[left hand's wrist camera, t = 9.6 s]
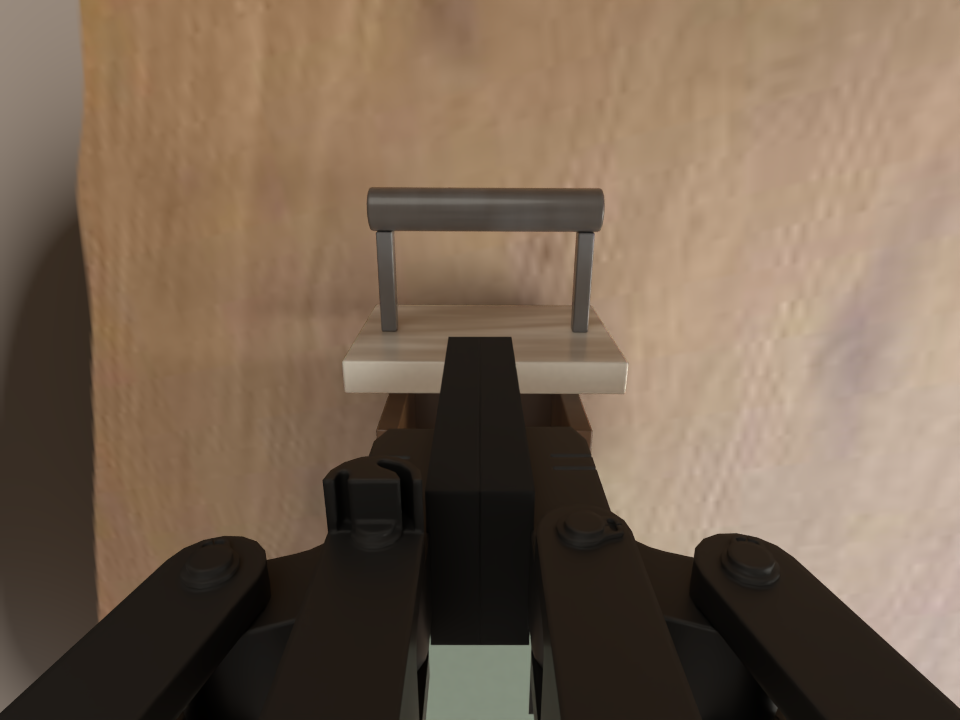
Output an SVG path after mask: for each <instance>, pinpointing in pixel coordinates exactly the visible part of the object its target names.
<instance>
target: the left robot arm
mask: <svg viewBox="0 0 960 720" xmlns="http://www.w3.org/2000/svg"><path fill="white" fill-rule="evenodd" d="M595 468H596V467H595V464H594V461H593V458H592V457H591V452H590V449H589V446H588V443H587V440H586V439H585V438H584V437H583V436H582V435H580V434H579V433H578V432H577V431H576V430H574V429H573V428H572V427H525V422H524V415H523V409H522V402H521V395H520V389H519V382H518V376H517V369H516V363H515V356H514V350H513V343H512V337H448V343H447V350H446V356H445V363H444V369H443V376H442V382H441V389H440V395H439V402H438V409H437V415H436V422H435V428H434V429H388V430H387V431H386V432H384V433H383V434H382V435H381V436H380V437H379V438H377V439H376V440H375V441H374V443H373V446H372V449H371V452H370V455H369V456H368V457H360V458H357V459H354V460H350V461H347V462H344V463H342V464H341V465H339V466H337V467H336V468H334V469H332V470H331V471H330V472H329V473H328V474H327V476H326V477H325V478H324V479H323V489H324V498H325V507H326V517H327V526H328V534H327V537H326V539H325V542H324V544H322V545H320V546H317V547H315V548H313V549H311V550H307V551H304V552H301V553H297V554H293V555H288V556H284V557H279V558H275V559H270V560H266V553H265V550H264V549H263V548H262V547H261V546H260V545H259V543H258V542H257V541H254V540H251V539H248V538H245V537H241V536H222V537H216V538H211V539H207V540H203V541H200V542H198V543H196V544H193V545H191V546H188V547H186V548H184V549H182V550H181V551H179V552H178V553H176V554H175V555H174V556H172V557H171V558H169V559H168V560H167V561H166V562H164V563H163V564H162V565H161V566H160V567H159V568H158V569H157V570H156V571H155V572H154V573H152V574H151V575H150V576H149V577H148V578H147V579H146V580H145V581H144V582H143V583H142V584H140V585H139V586H138V587H137V588H136V589H135V590H134V591H133V592H132V593H131V594H130V595H128V596H127V597H126V598H125V599H124V600H123V601H122V602H121V603H120V604H119V605H118V606H116V607H115V608H114V609H113V610H112V611H111V612H110V613H109V614H108V615H107V616H106V617H104V618H103V619H102V620H101V621H100V622H99V623H98V624H97V625H96V626H95V627H94V628H92V629H91V630H90V631H89V632H88V633H87V634H86V635H85V636H84V637H83V638H82V639H80V640H79V641H78V642H77V643H76V644H75V645H74V646H73V647H72V648H71V649H70V650H69V651H67V652H66V653H65V654H64V655H63V656H62V657H61V658H60V659H59V660H58V661H57V662H55V663H54V664H53V665H52V666H51V667H50V668H49V669H48V670H47V671H46V672H45V673H43V674H42V675H41V676H40V677H39V678H38V679H37V680H36V681H35V682H34V683H33V684H31V685H30V686H29V687H28V688H27V689H26V690H25V691H24V692H23V693H22V694H21V695H20V696H18V697H17V698H16V699H15V700H14V701H13V702H12V703H11V704H10V705H9V706H7V707H6V708H5V709H4V710H3V711H2V712H1V713H0V720H426V713H427V702H428V691H429V680H430V667H429V642H430V639H431V645H529V639H531V667H530V692H529V714H534V720H960V708H959V707H958V706H956V705H955V704H954V703H953V702H952V701H951V700H950V699H949V698H948V697H947V696H945V695H944V694H943V693H942V692H941V691H940V690H939V689H938V688H937V687H936V686H934V685H933V684H932V683H931V682H930V681H929V680H928V679H927V678H926V677H925V676H923V675H922V674H921V673H920V672H919V671H918V670H917V669H916V668H915V667H914V666H912V665H911V664H910V663H909V662H908V661H907V660H906V659H905V658H904V657H903V656H901V655H900V654H899V653H898V652H897V651H896V650H895V649H894V648H893V647H892V646H890V645H889V644H888V643H887V642H886V641H885V640H884V639H883V638H882V637H881V636H880V635H878V634H877V633H876V632H875V631H874V630H873V629H872V628H871V627H870V626H869V625H867V624H866V623H865V622H864V621H863V620H862V619H861V618H860V617H859V616H858V615H856V614H855V613H854V612H853V611H852V610H851V609H850V608H849V607H848V606H847V605H845V604H844V603H843V602H842V601H841V600H840V599H839V598H838V597H837V596H836V595H834V594H833V593H832V592H831V591H830V590H829V589H828V588H827V587H826V586H825V585H823V584H822V583H821V582H820V581H819V580H818V579H817V578H816V577H815V576H814V575H812V574H811V573H810V572H809V571H808V570H807V569H806V568H805V567H804V566H803V565H801V564H800V563H799V562H798V561H797V560H796V559H795V558H794V557H792V556H791V555H790V554H788V553H787V552H785V551H784V550H782V549H781V548H779V547H778V546H776V545H774V544H772V543H769V542H767V541H764V540H762V539H760V538H757V537H752V536H747V535H742V534H737V533H732V534H716V535H713V536H710V537H708V538H705V539H703V540H702V541H701V542H700V543H699V544H698V546H697V547H696V548H695V553H694V558H693V557H688V556H684V555H679V554H674V553H670V552H665V551H661V550H658V549H655V548H651V547H648V546H646V545H644V544H642V543H640V542H637V541H636V540H635V538H634V536H633V533H632V531H631V530H630V528H629V527H628V525H627V524H626V522H625V521H624V520H623V519H621V518H620V517H618V516H617V515H616V514H614V513H613V512H611V511H610V508H609V505H608V502H607V499H606V496H605V493H604V490H603V487H602V484H601V481H600V478H599V476H598V473H597V470H596V469H595Z"/></svg>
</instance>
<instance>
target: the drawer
mask: <svg viewBox="0 0 960 720" xmlns="http://www.w3.org/2000/svg"><path fill="white" fill-rule="evenodd" d="M604 207H605V203H604V194H603V191H602V189H600V188H407V187H371V188H369V191H368V195H367V217H368V223H369V226H370V229H371V230H373V231H377V232H376V242H377V260H378V278H379V296H380V305H376V306H375V308H374V309H373V311H372V313H371V314H370V316H369V318H368V319H367V321H366V323H365V324H364V326H363V328H362V329H361V331H360V333H359V334H358V336H357V338H356V339H355V341H354V343H353V344H352V346H351V348H350V349H349V351H348V353H347V355H346V356H345V358H344V360H343V361H342V369H343V381H344V391H345V393H389V396H388V398H387V401H386V404H385V407H384V410H383V413H382V416H381V419H380V422H379V424H378V427H377V430H376V433H377V438H379V437H380V436H381V435H382V434H383V433H384V432H386V431H387V430H388V429H434V428H435V422H436V415H437V409H438V402H439V395H440V389H441V382H442V376H443V369H444V363H445V356H446V350H447V343H448V337H512V343H513V350H514V356H515V363H516V369H517V376H518V382H519V389H520V395H521V402H522V409H523V415H524V422H525V427H572V428H573V429H574V430H576V431H577V432H578V433H579V434H580V435H582V436H583V437H584V438H585V439H586V440H587V443H588V446H589V449H590V452H591V446H592V434H593V431H592V429H591V426H590V423H589V421H588V418H587V415H586V413H585V410H584V407H583V405H582V402H581V399H580V397H579V394H625V392H626V383H627V373H628V362H627V360H626V359H625V357H624V356H623V354H622V352H621V351H620V349H619V348H618V346H617V345H616V343H615V341H614V340H613V338H612V337H611V335H610V334H609V332H608V330H607V329H606V327H605V326H604V324H603V323H602V321H601V319H600V318H599V316H598V315H597V313H596V312H595V310H594V308H593V307H592V306H590V294H591V280H592V266H593V252H594V238H595V234H594V232H598V231H600V230H601V227H602V224H603V219H604ZM394 231H503V232H576V247H575V263H574V280H573V296H572V306H541V305H397V284H396V261H395V239H394Z"/></svg>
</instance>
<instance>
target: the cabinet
mask: <svg viewBox="0 0 960 720" xmlns="http://www.w3.org/2000/svg"><path fill="white" fill-rule="evenodd" d="M429 667H430V680H429V691H428V702H427V713H426V720H534V714H529V692H530V667H531V639H529V645H431V639H430V642H429Z"/></svg>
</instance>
